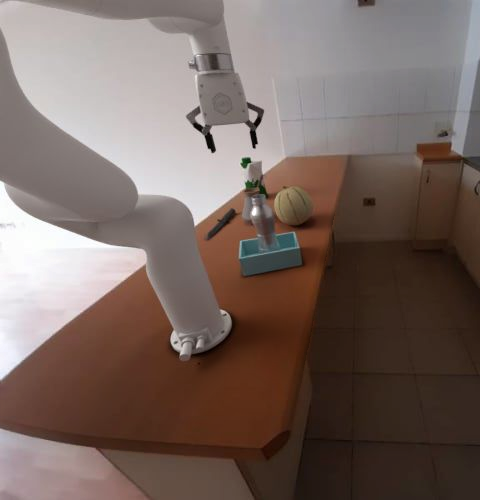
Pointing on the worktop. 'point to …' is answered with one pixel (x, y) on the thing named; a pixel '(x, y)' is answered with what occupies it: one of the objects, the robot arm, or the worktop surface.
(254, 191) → the coffee pot
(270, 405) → the worktop surface
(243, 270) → the bin
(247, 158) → the milk carton
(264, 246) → the silver metal bottle
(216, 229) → the knife
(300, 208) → the cantaloupe
